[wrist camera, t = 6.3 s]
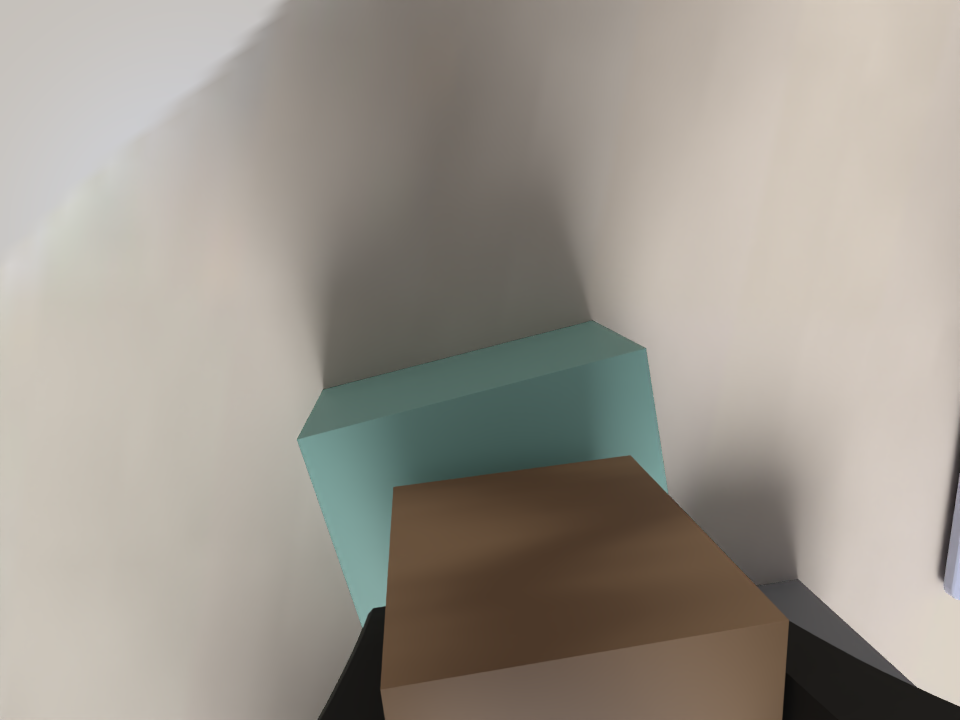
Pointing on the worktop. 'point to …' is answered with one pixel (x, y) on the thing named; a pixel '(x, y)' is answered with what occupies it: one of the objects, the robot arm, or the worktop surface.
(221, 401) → the worktop surface
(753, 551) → the worktop surface
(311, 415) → the teal base block
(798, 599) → the slate cube
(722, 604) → the walnut cube
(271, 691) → the worktop surface
